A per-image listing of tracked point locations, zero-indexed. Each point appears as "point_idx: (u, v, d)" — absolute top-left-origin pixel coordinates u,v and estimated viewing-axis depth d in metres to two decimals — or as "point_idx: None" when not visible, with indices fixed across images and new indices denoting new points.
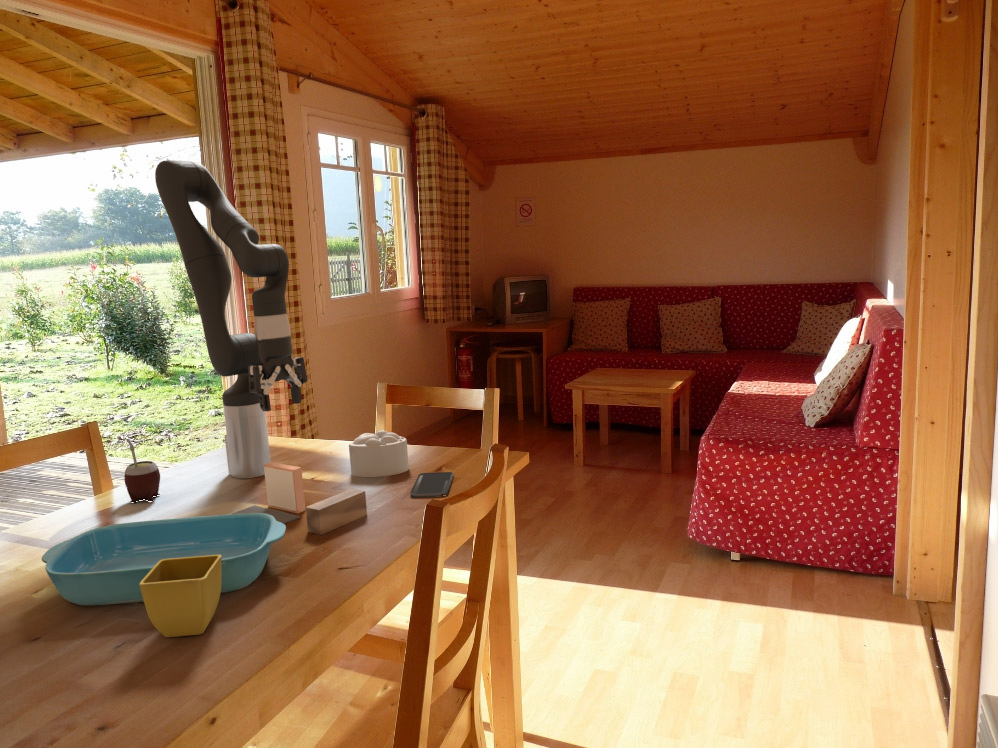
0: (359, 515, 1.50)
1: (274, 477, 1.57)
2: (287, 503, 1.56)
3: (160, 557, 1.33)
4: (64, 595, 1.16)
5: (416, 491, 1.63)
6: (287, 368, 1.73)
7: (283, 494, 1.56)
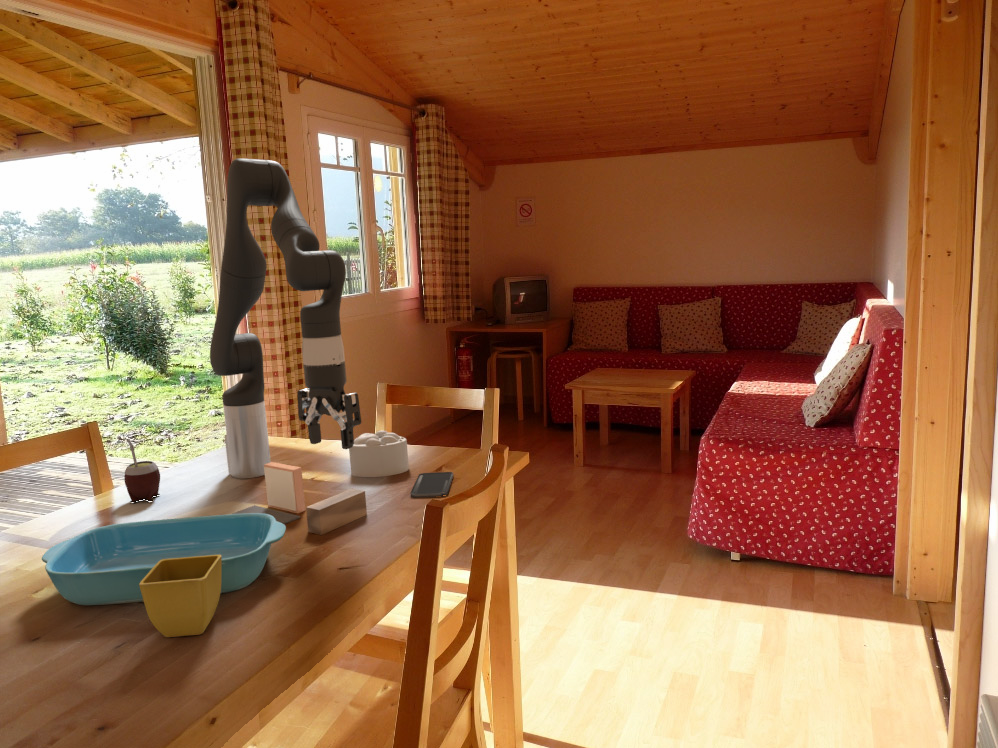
0: (359, 515, 1.50)
1: (274, 477, 1.57)
2: (287, 503, 1.56)
3: (160, 557, 1.33)
4: (64, 595, 1.16)
5: (416, 491, 1.63)
6: None
7: (283, 494, 1.56)
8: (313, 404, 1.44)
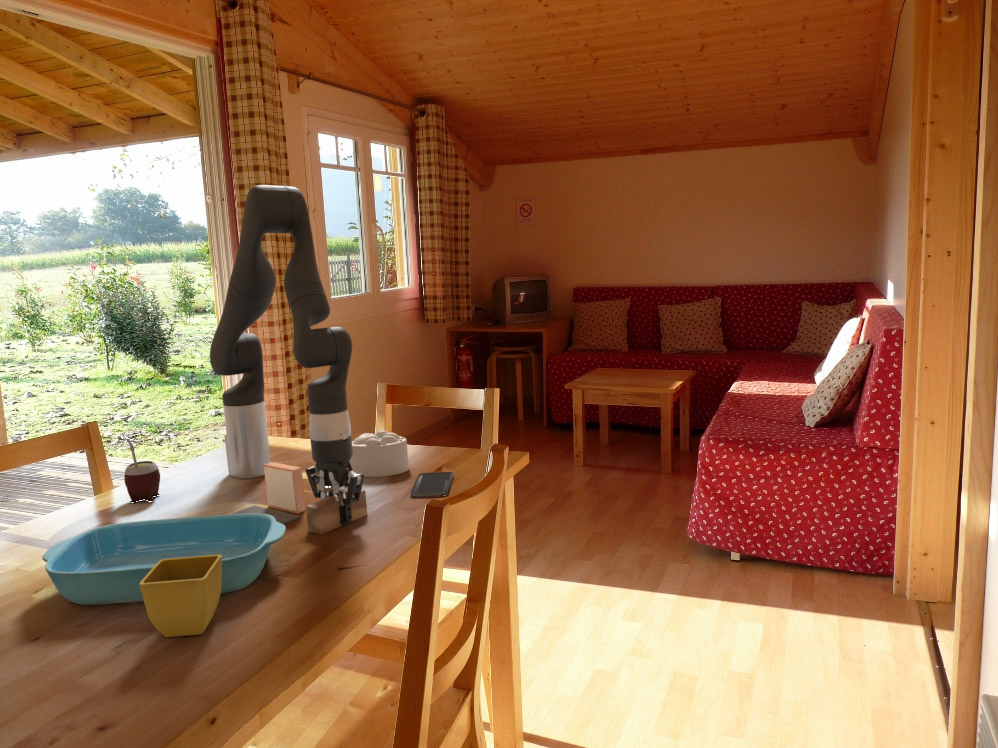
0: (359, 514, 1.50)
1: (274, 477, 1.57)
2: (287, 503, 1.56)
3: (161, 557, 1.33)
4: (63, 594, 1.16)
5: (416, 491, 1.63)
6: None
7: (283, 494, 1.56)
8: (321, 478, 1.46)
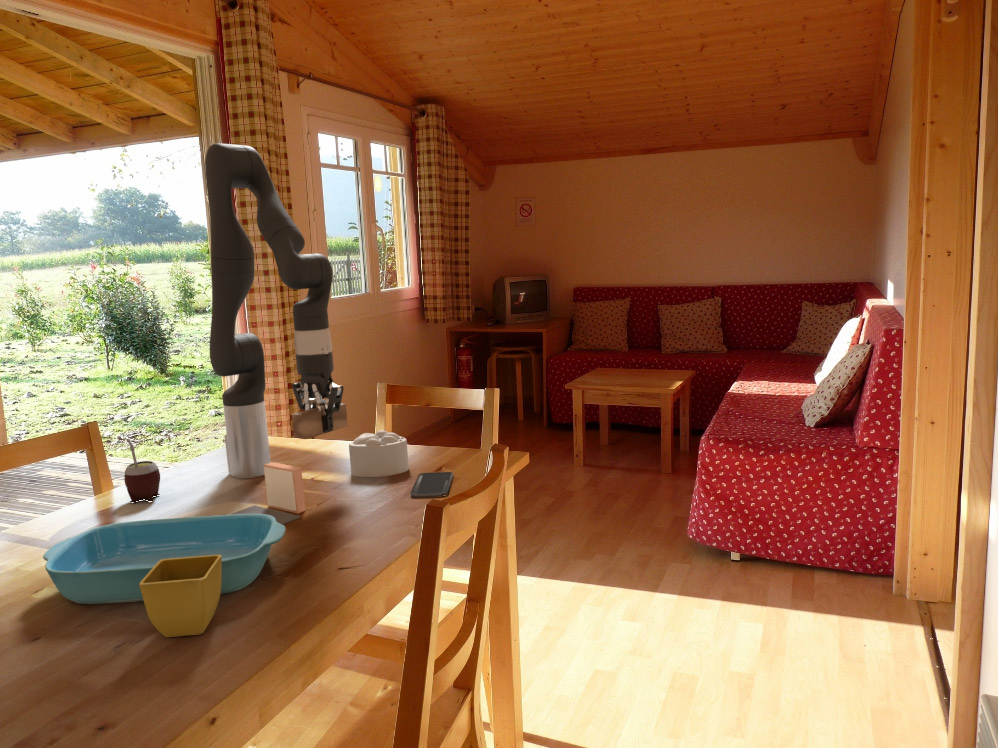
0: (340, 425, 1.67)
1: (274, 477, 1.57)
2: (287, 503, 1.56)
3: (162, 556, 1.33)
4: (63, 593, 1.17)
5: (416, 491, 1.63)
6: None
7: (283, 494, 1.56)
8: (306, 390, 1.63)
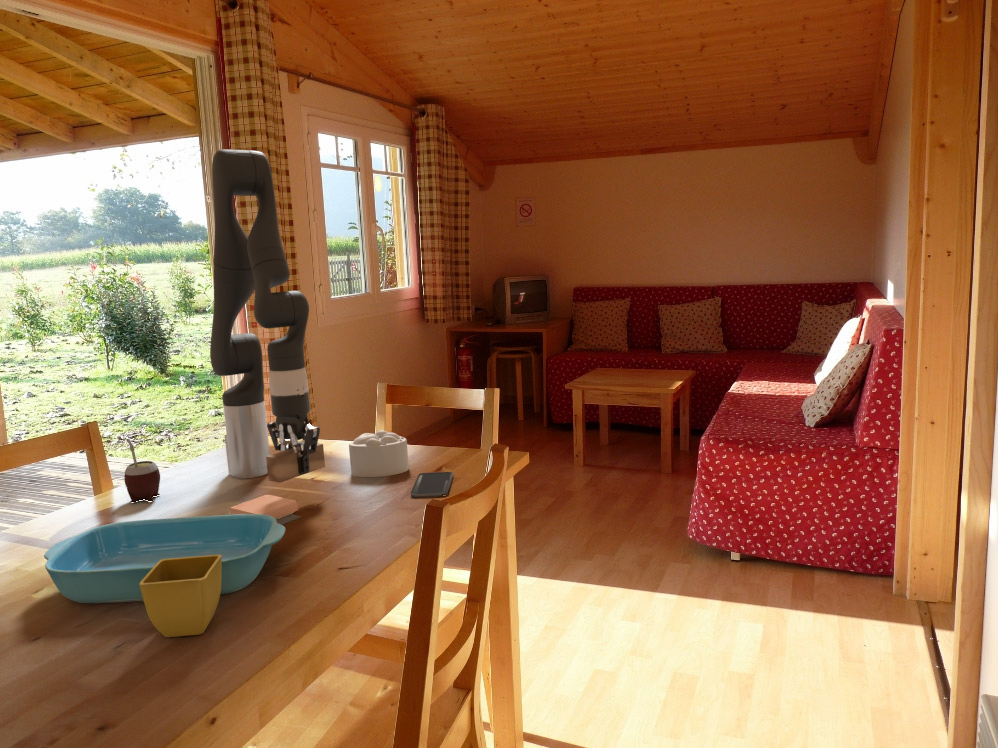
0: (317, 466, 1.62)
1: None
2: None
3: (164, 556, 1.34)
4: (63, 592, 1.17)
5: (416, 491, 1.63)
6: None
7: None
8: (281, 431, 1.58)
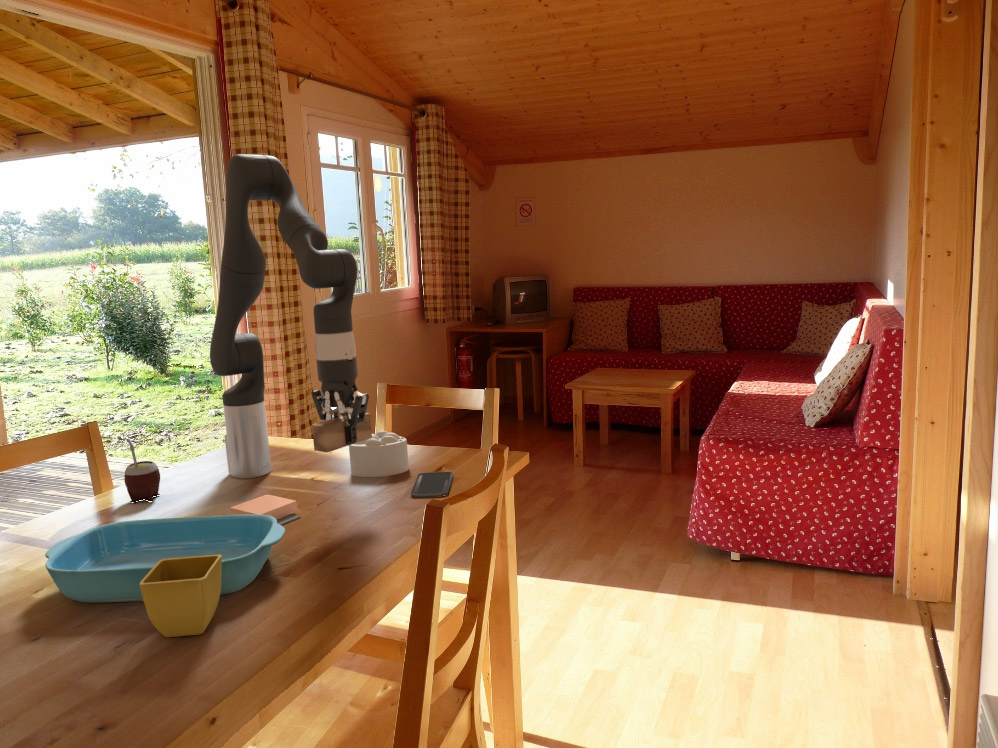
0: (364, 436, 1.53)
1: None
2: None
3: (165, 555, 1.34)
4: (62, 591, 1.18)
5: (416, 491, 1.63)
6: None
7: None
8: (327, 399, 1.49)
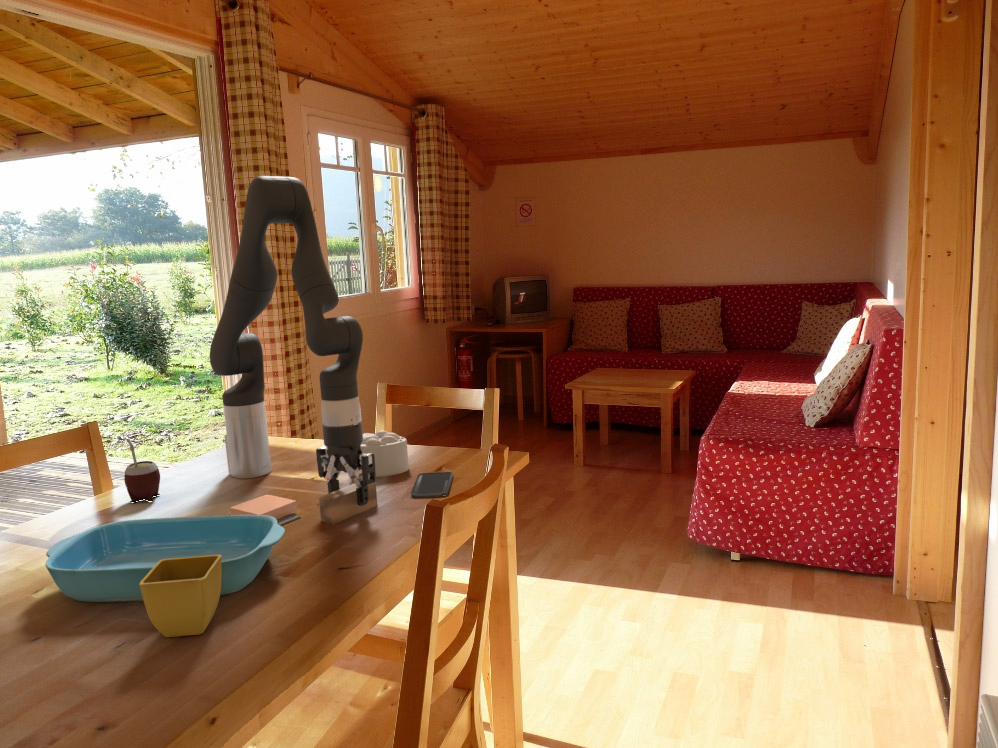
0: (370, 505, 1.56)
1: None
2: None
3: (166, 555, 1.34)
4: (62, 590, 1.18)
5: (416, 491, 1.63)
6: None
7: None
8: (331, 462, 1.51)
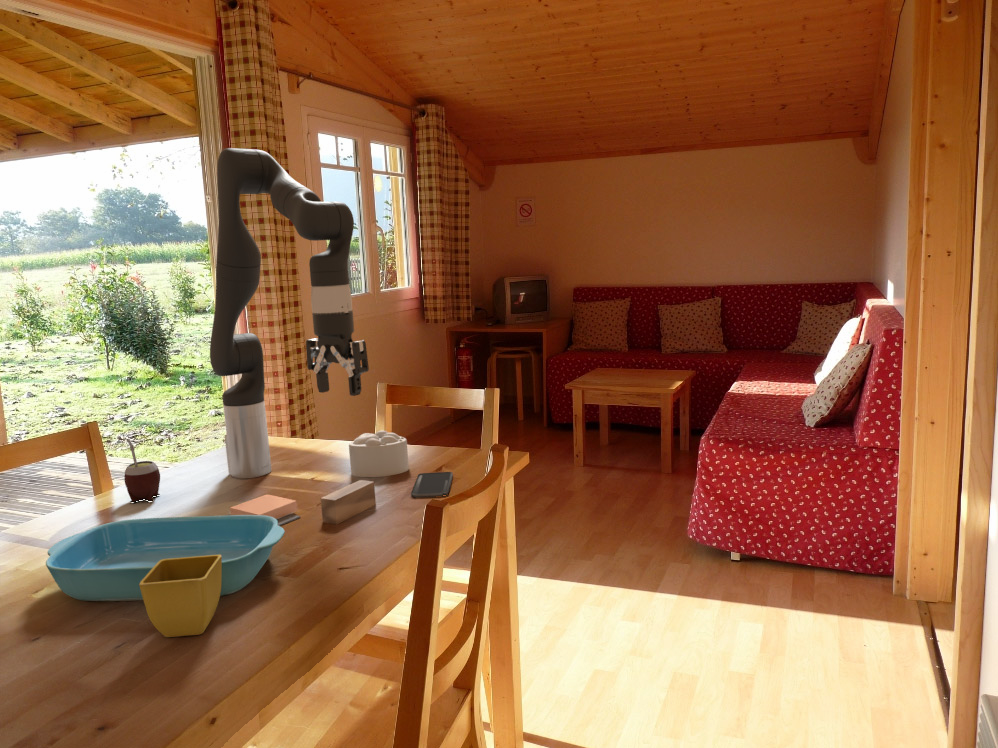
0: (369, 505, 1.56)
1: None
2: None
3: (168, 555, 1.34)
4: (62, 589, 1.18)
5: (416, 491, 1.63)
6: None
7: None
8: (321, 352, 1.48)
